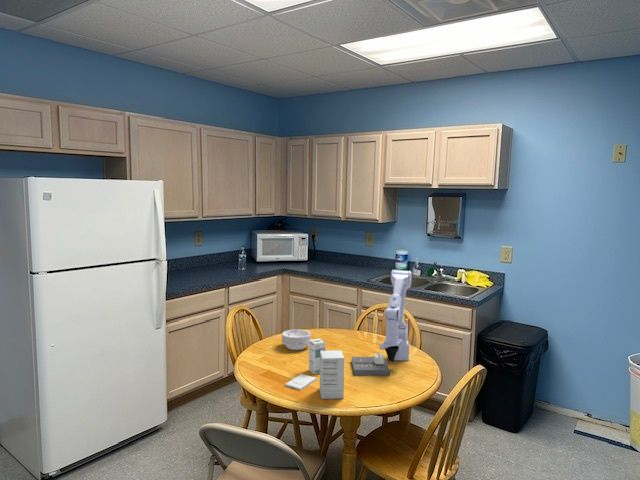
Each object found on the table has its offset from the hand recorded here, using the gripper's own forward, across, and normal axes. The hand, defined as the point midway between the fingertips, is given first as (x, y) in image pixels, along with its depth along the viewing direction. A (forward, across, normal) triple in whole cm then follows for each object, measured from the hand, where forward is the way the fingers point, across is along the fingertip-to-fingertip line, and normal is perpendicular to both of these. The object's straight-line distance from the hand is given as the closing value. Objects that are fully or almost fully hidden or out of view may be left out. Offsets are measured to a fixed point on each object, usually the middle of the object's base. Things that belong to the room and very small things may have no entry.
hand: (391, 361), depth 208 cm
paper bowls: (+4, +18, -50) cm, 53 cm away
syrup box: (+4, +29, -19) cm, 35 cm away
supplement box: (+4, +39, +2) cm, 40 cm away
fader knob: (+1, +4, -4) cm, 6 cm away
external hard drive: (+4, +43, -14) cm, 45 cm away
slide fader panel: (+4, +8, -6) cm, 10 cm away
